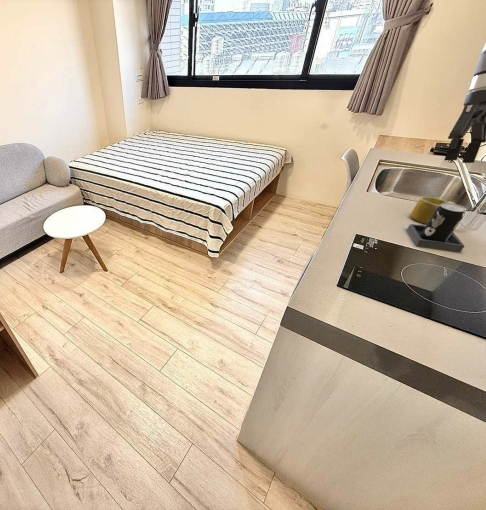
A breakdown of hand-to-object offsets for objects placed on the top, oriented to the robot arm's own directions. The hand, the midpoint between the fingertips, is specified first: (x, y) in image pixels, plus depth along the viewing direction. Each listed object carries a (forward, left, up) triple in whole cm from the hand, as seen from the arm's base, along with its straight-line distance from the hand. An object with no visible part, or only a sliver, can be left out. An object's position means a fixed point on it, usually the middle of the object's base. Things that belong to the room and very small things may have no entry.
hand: (459, 161), depth 93 cm
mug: (-1, +2, -22) cm, 22 cm away
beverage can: (+3, +19, -21) cm, 28 cm away
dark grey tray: (+3, +19, -22) cm, 29 cm away
